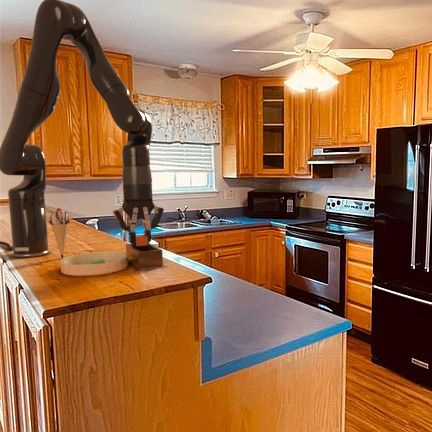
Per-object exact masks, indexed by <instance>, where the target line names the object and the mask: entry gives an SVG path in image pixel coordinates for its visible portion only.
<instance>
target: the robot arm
mask: <svg viewBox="0 0 432 432" xmlns="http://www.w3.org/2000/svg"><path fill="white" fill-rule="evenodd" d="M34 19H35V20H34V26H33V33H32V39H31V46H30V49H29V55H28V58H27V62H26V65H25V66H26V67H25V71H24V73H23V77H22V80H21V84H20V87H19V90H18V93H17V99H16V103H15V107H14V110H13V113H12V117H11V119H10V123H9V125H8V128H7V130H6V133H5V135H4V137H3V139H2V142H1V145H0V172H1V173H2V174H3V175H6V176H10V177H12V176H13V177H18V176H19V177H20V176H21V177H23V180H22V181H21V182H20V183H19V184H17V185H16V186H13V187H12V188H9V189H8V191H7V196H8V208H9V209H8V210H9V219H10V232H11V242H12V246H11V244H10V243H9V242H5V241H3V240H0V245H1V246H5V247H6V248H7V250H8V251H12V257H14V258H20V259H21V258H35V257H36V258H37V257H42V256H45V255H48V254H49V253H50V248H49V236H48V225H47V224H48V223H47V211H46V199H45V197H46V195H45V192H46V188H47V172H46V171H47V167H46V166H47V165H46V156H45V153H44V151H43V149H42V148H41V147H40V146H39V145H37V144H30V143H29V144H28V141H29V139H30V137H31V135H32V134H33V133H34V132H35V131H36V130H37V129H38V128H39V127H40V126H41V125H42V124H44V123H45V121H47V120H48V119H49V118H50V117H51V116H52V114H53V113H54V112H55V109H56V106H57V104H58V101H59V98H60V93H61V80H60V76H59V71H58V67H57V56H58V51H59V49H60V45H61V43H62V41H63V40H64V41H70V43H72V45H74V47H75V48H76V49H77V50H78V51H79V52H80V54H81V55H82V57H83V60H84V62H85V65H86V70H87V75H88V78H89V80H90V82H91V84H92V86H93V88H94V89H95V90H96V92H97V93H98V95H99V96H100V97H101V100H103V102H104V103H105V105H106V107H107V110H108V112H109V114H110V116H111V119H112V120H113V122H114V123H115V126H117V127H118V128H119V129H120V131H122V132H123V133H126V134H127V135H126V136H127V138H126V143H125V144H124V145H123V146H122V149H121V155H122V156H121V157H122V174H121V176H122V177H121V179H122V195H123V202H122V205H121V207H120V208H118V209H114V210H112V214H113V216H114V217H115V219H116V221H117V223H118V225H119V227H120V228H121V230H122V231H125V232H128V242H129V244H132V245H133V246H135V245H136V235H137V232H136V225H137V220H141V221H142V224H143V227H144V230H143V235H145V236H147V237H148V244H149V243H151V242H152V230H153V229H156V228H158V226H159V223H160V221H161V219H162V216H163V214H164V211H165V209H164V208H163V207H161V206H156V205H155V202H154V201H153V178H152V177H153V176H152V169H151V158H150V157H151V156H150V148H151V147H150V146H151V141H152V134H153V123H152V119H151V116H150V115H149V113H148V112H147V111H145V110H143V109H141V108H137V106H136V105H135V104H134V102H133V101H132V98H131V93H130V90H129V89H128V87H127V85H126V84H125V83H124V81H123V79H122V78H121V77H120V75H119V74H118V72H117V71H116V69H115V68H114V66H113V65H112V63H111V62H110V59H109V58H108V56H107V55H106V53H105V51H104V49H103V47H102V45H101V43H100V41H99V39H98V38H97V35H96V33H95V31H94V29H93V27H92V25H91V23H90V21H89V19H88V17H87V16H86V14H85V12H84V11H83V10H82V9H81V8H80V7H78V6H77V5H75V4H73V3H70V2H66V1H64V0H43V1H42V2H41V3H39V6H38V8H37V11H36V15H35V18H34ZM152 212H153V217H152V220H150V219H151V218H150V215H151V214H152ZM124 213H125V214H126V215H127V216H128V225H127V223H126V222H125V220H124V218H123V217H124Z"/></svg>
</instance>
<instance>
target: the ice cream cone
mask: <svg viewBox="0 0 432 432" xmlns="http://www.w3.org/2000/svg"><path fill="white" fill-rule="evenodd" d="M71 223H72V219H70V217H69V214H68V213H67V211H65V210H62V209H61V208H60V207H58V208H57V209H56V210H55V211H53V212H51V214H50V217H49V220H48V224H49V225H50V226H51V229H52V231H53V234H54V238H55V242H56V245H57V247H58V251H59V254H60V257H61V259H63V258H64V253H65V247H66V243H67V235H68V230H69V224H71Z"/></svg>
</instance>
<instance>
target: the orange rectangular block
mask: <svg viewBox="0 0 432 432" xmlns="http://www.w3.org/2000/svg"><path fill="white" fill-rule="evenodd" d="M144 245H148V237H147V236H145V235H144V234H136V246H144Z"/></svg>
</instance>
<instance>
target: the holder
mask: <svg viewBox="0 0 432 432" xmlns="http://www.w3.org/2000/svg"><path fill="white" fill-rule="evenodd" d="M125 253H126V254H128V261H129V263H131V264H132V265H133V266H135V267H136V269H138V270H145V269H151V268H160V267H163V266H164V259H163V258H164V257H163V249H162V248H160V247H158V246H156V245H154V244H152V243H151V242H149V244H148V245H144V246H136V245H135V246H133V245H132V244H131V243H126V244H125Z"/></svg>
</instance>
